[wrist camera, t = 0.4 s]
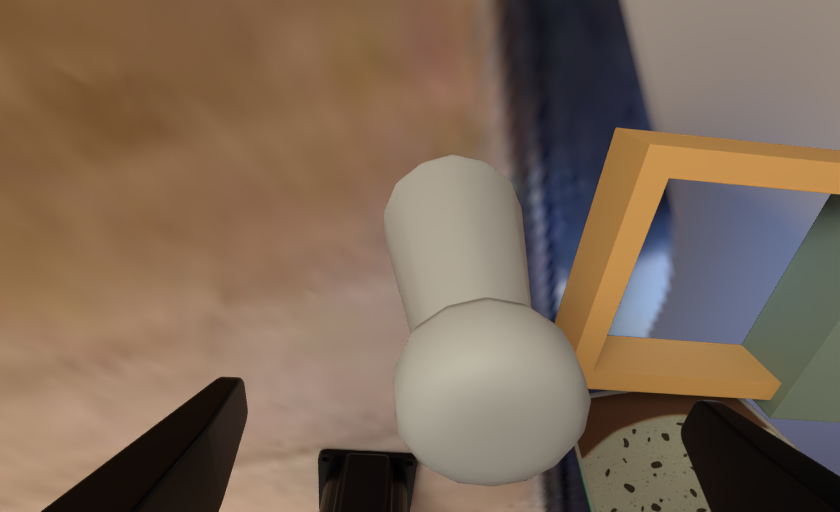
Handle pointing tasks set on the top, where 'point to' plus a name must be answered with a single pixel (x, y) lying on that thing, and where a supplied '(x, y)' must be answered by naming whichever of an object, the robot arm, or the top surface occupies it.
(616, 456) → the food container
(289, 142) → the top surface
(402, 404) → the salt shaker
